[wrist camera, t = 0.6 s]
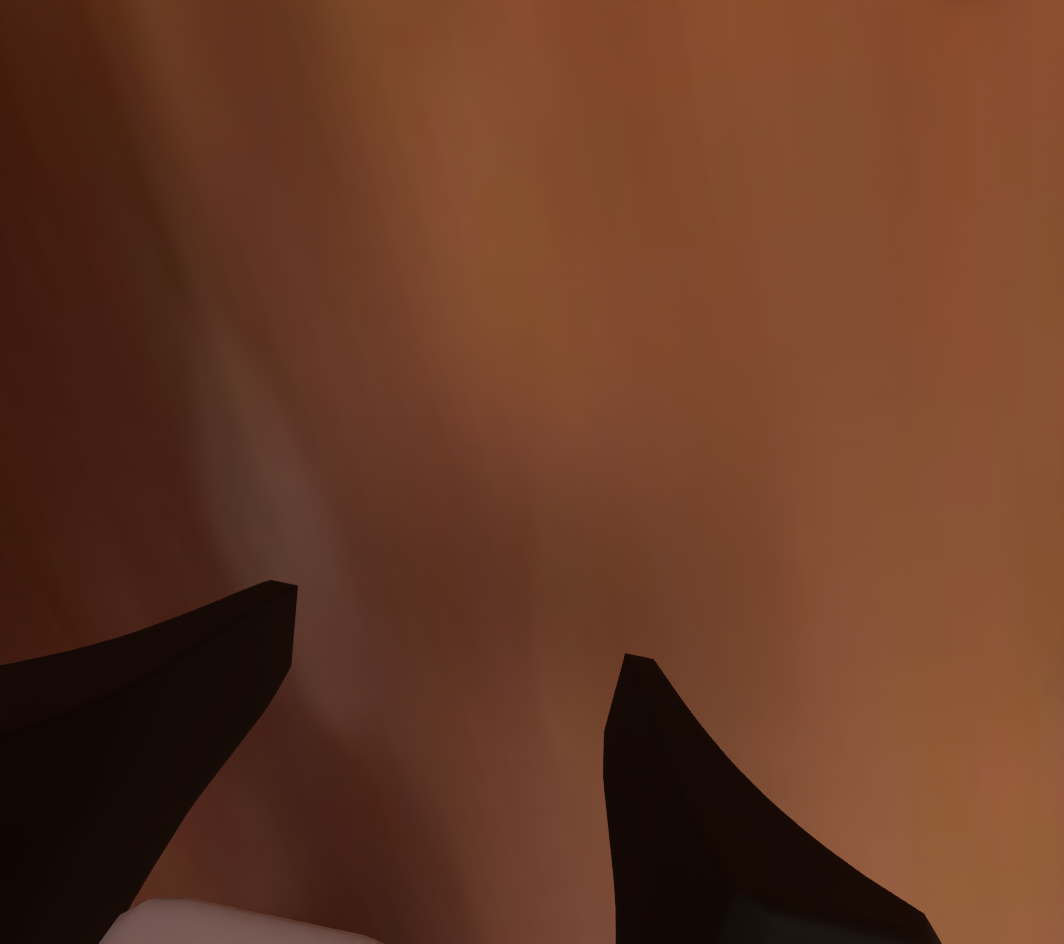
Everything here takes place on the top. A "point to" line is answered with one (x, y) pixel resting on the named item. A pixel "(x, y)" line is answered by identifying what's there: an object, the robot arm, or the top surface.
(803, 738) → the top surface
